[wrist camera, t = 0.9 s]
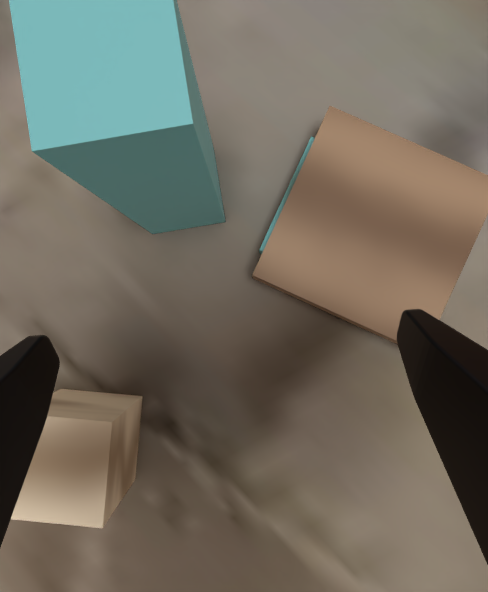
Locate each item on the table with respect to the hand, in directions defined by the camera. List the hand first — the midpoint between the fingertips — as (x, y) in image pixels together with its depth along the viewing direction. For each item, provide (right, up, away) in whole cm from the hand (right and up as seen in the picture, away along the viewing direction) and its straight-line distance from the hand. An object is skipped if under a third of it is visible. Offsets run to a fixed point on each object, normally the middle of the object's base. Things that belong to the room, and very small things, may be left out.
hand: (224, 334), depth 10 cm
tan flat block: (+8, +5, +13) cm, 16 cm away
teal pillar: (-3, +7, +13) cm, 16 cm away
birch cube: (-8, -7, +13) cm, 17 cm away
